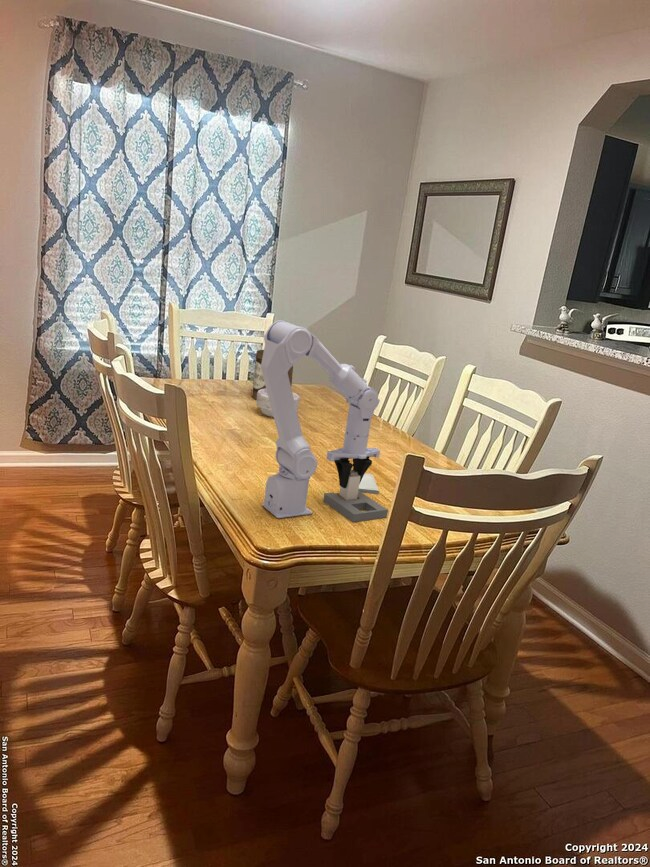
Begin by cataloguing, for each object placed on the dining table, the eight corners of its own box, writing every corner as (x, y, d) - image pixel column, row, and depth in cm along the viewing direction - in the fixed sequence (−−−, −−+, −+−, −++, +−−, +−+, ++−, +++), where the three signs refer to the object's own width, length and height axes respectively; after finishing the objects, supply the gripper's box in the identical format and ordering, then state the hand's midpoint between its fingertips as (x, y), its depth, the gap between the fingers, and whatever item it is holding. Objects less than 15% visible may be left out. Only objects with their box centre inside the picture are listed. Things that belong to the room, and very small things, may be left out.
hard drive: (379, 490, 172) (373, 473, 184) (348, 487, 171) (344, 470, 183) (378, 496, 172) (372, 479, 184) (347, 493, 171) (343, 476, 183)
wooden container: (248, 393, 261) (254, 338, 255) (284, 395, 266) (290, 341, 260) (256, 403, 248) (262, 345, 242) (293, 405, 252) (300, 348, 246)
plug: (346, 500, 160) (350, 474, 158) (339, 495, 163) (343, 469, 161) (357, 498, 162) (361, 473, 160) (349, 494, 164) (353, 468, 162)
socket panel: (353, 522, 152) (354, 514, 152) (323, 500, 162) (324, 493, 162) (386, 517, 158) (387, 509, 157) (355, 496, 168) (356, 489, 167)
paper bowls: (296, 423, 228) (298, 401, 226) (252, 417, 228) (254, 395, 226) (298, 412, 243) (301, 391, 240) (257, 406, 242) (260, 385, 240)
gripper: (341, 440, 151) (333, 494, 154) (390, 437, 159) (382, 489, 162) (325, 431, 156) (317, 484, 160) (373, 428, 164) (365, 479, 168)
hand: (349, 486), depth 162 cm, fingers closed on plug, 3 cm apart
